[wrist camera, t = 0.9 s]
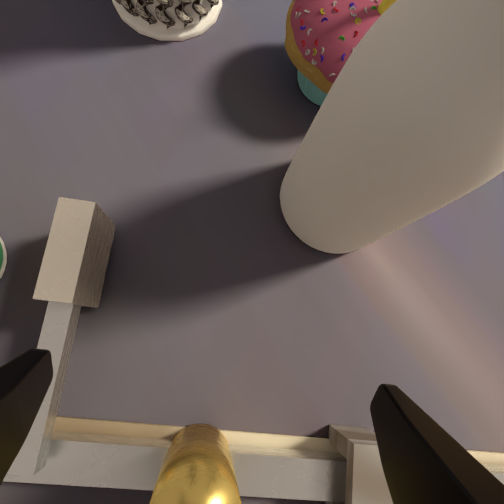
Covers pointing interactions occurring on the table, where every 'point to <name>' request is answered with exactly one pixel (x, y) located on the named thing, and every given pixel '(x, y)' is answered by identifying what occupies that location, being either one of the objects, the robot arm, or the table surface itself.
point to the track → (340, 441)
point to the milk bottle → (402, 125)
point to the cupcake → (326, 39)
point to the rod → (137, 448)
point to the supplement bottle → (2, 257)
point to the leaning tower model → (169, 17)
